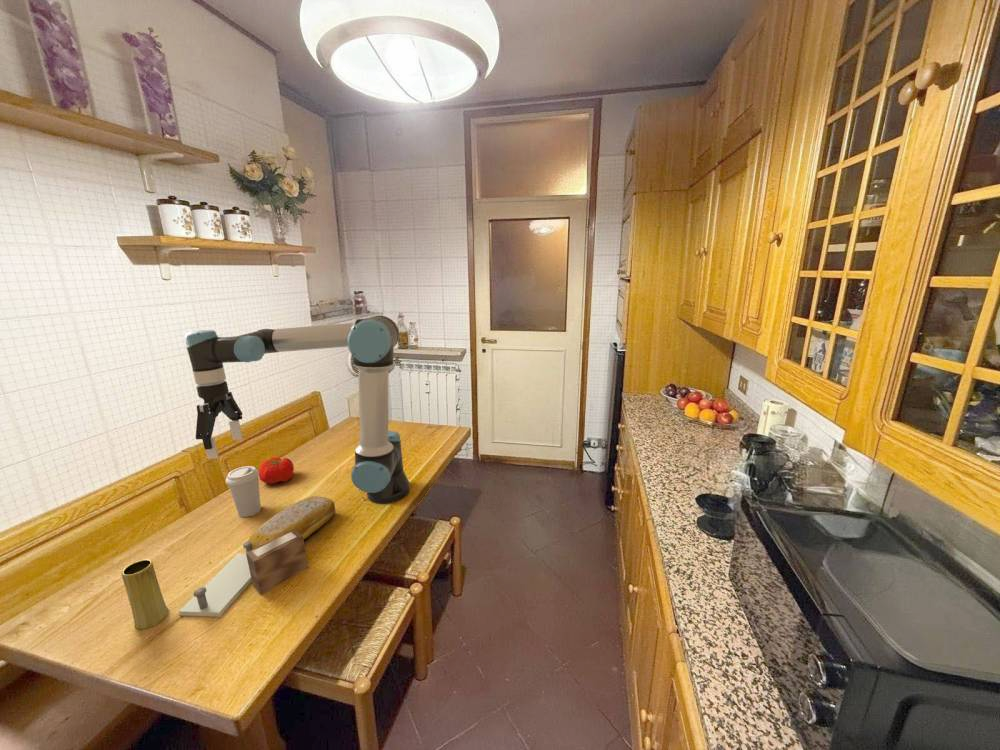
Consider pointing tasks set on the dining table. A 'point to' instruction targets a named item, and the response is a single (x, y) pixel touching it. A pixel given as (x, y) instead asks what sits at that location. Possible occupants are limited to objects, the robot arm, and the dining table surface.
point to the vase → (144, 594)
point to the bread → (295, 520)
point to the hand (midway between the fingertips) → (226, 448)
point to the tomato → (276, 470)
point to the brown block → (277, 561)
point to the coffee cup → (245, 490)
